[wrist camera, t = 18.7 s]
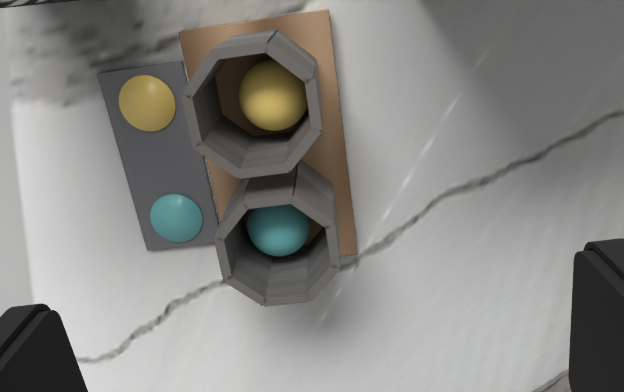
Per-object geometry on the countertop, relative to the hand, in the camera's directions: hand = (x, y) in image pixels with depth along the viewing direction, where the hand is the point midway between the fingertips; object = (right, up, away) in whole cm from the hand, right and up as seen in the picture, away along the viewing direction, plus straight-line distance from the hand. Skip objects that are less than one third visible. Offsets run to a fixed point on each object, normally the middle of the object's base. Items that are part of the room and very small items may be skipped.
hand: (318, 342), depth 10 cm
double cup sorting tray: (-3, +6, +30) cm, 31 cm away
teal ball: (-2, +2, +31) cm, 31 cm away
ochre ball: (-3, +10, +27) cm, 29 cm away
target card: (-11, +5, +31) cm, 33 cm away
